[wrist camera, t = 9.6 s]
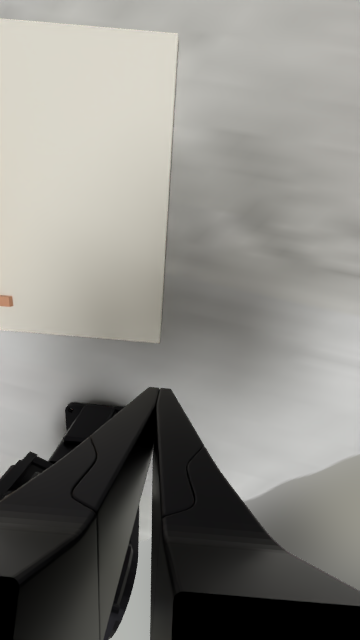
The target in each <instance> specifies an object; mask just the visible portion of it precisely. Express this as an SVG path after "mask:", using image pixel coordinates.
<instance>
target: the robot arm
mask: <svg viewBox="0 0 360 640" xmlns="http://www.w3.org/2000/svg"><path fill="white" fill-rule="evenodd" d="M70 408H72V409H73V410H71V409H70ZM65 413H66V429H67V432H66V434H65V435H64V437H63V440H62V441H61V443H60V444H59V446H58V447H57V449H56V450H55V452H54V453H53V455H52V456H51V458H50V459H49V461H46V460H44V459H42V458H39V457H37V454H35V453H33V452H29V453H28V454H27V456H26V457H25V458H24V459H23V460H19V461H18V462H17V463H16V464H15V465H12V466H11V467H10V468H9V469H8V470H7V471H6V473H5V474H4V475H3V476H2V477H1V479H0V640H109V639H110V638H112V636H113V635H114V633H115V632H116V630H117V628H118V626H119V624H120V623H121V620H122V617H123V615H124V613H125V610H126V607H127V604H128V602H129V598H130V595H131V591H132V588H133V584H134V579H135V575H136V569H137V563H138V537H139V502H140V498H141V495H142V491H143V487H144V483H145V479H146V476H147V472H148V468H149V464H150V460H151V456H152V452H153V481H152V552H151V623H150V624H151V625H150V640H360V591H359V590H357V589H355V588H354V587H352V586H350V585H348V584H346V583H344V582H342V581H341V580H339V579H337V578H335V577H333V576H331V575H330V574H328V573H326V572H324V571H322V570H321V569H319V568H317V567H315V566H313V565H311V564H310V563H307V562H306V561H304V560H302V559H300V558H299V557H297V556H295V555H293V554H291V553H290V552H288V551H287V550H285V549H284V548H283V547H281V546H280V545H279V544H278V543H277V542H276V541H275V540H274V539H273V538H272V537H271V536H270V535H269V534H268V533H267V532H266V530H265V529H264V528H263V527H262V526H261V524H260V523H259V522H258V520H257V519H256V518H255V516H254V515H253V514H252V513H251V511H250V510H249V509H248V507H247V506H246V505H245V503H244V502H243V501H242V500H241V498H240V497H239V496H238V494H237V493H236V492H235V490H234V489H233V488H232V487H231V485H230V484H229V483H228V481H227V480H226V478H225V477H224V476H223V474H222V473H221V472H220V470H219V469H218V467H217V466H216V464H215V462H214V461H213V459H212V458H211V456H210V454H209V453H208V451H207V449H206V448H205V447H204V444H203V443H202V441H201V439H200V438H199V436H198V434H197V433H196V431H195V429H194V427H193V426H192V424H191V422H190V421H189V419H188V417H187V416H186V414H185V412H184V410H183V409H182V407H181V405H180V404H179V402H178V400H177V399H176V397H175V395H174V394H173V392H172V390H171V389H166V388H161V389H159V388H154V387H149V388H147V389H146V390H145V391H144V392H142V393H141V394H140V395H139V396H138V397H136V398H135V399H134V400H133V401H132V402H130V403H129V404H128V405H127V406H126V407H114V406H104V405H92V404H78V403H70V404H68V406H67V407H66V409H65Z"/></svg>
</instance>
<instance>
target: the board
mask: <svg viewBox="0 0 360 640" xmlns="http://www.w3.org/2000/svg"><path fill="white" fill-rule="evenodd" d="M177 54H178V33H167V32H155V31H144V30H132V29H120V28H108V27H96V26H84V25H72V24H60V23H49V22H37V21H25V20H13V19H1V18H0V330H4V331H16V332H28V333H40V334H52V335H64V336H77V337H89V338H101V339H113V340H125V341H137V342H149V343H160V335H161V318H162V302H163V285H164V269H165V252H166V236H167V219H168V203H169V186H170V170H171V153H172V137H173V120H174V104H175V87H176V71H177Z"/></svg>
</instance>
